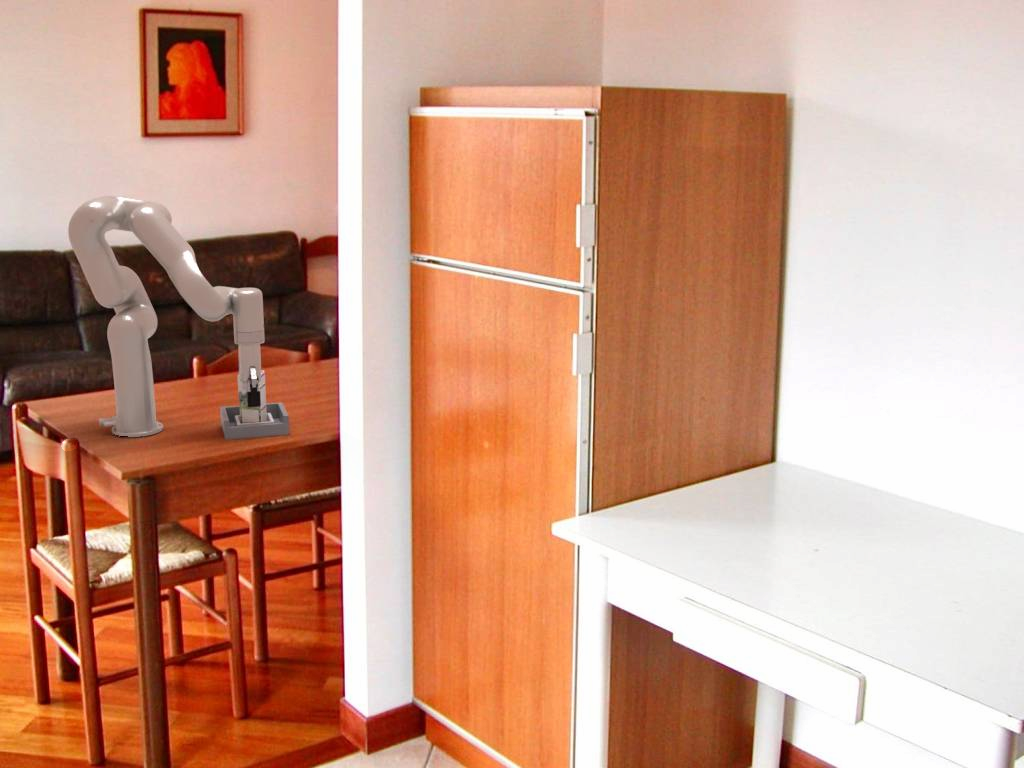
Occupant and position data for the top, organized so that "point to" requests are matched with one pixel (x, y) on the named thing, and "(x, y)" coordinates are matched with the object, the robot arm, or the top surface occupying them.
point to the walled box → (272, 427)
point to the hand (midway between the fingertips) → (252, 401)
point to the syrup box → (252, 412)
